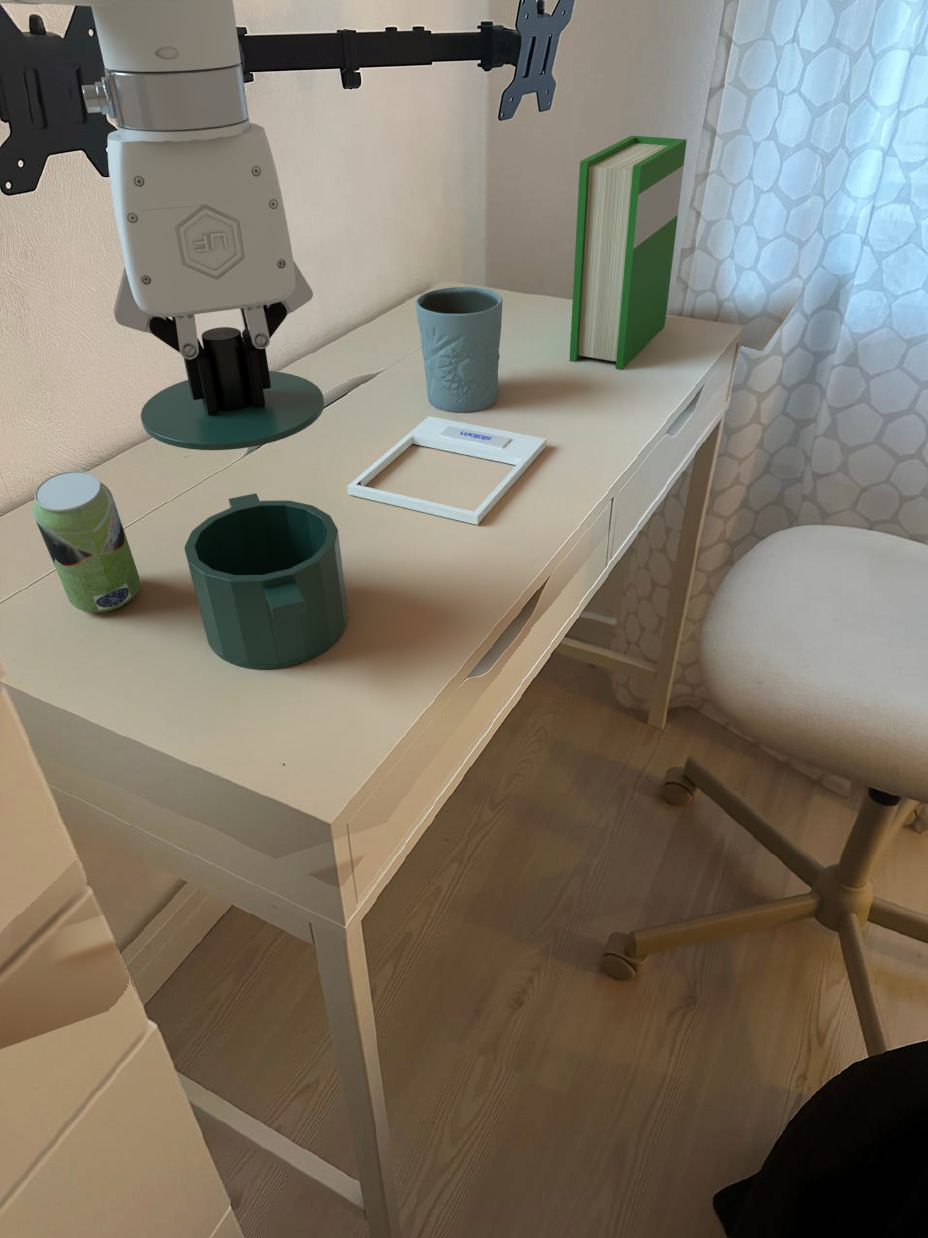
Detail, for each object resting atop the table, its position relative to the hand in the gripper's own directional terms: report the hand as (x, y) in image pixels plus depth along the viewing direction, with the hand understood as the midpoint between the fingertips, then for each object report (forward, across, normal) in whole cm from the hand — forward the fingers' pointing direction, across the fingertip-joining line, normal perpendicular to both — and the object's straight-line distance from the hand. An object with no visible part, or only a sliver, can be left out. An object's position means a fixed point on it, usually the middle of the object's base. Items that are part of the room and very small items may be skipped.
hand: (233, 400), depth 63 cm
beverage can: (+20, -13, +9) cm, 25 cm away
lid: (+1, 0, 0) cm, 1 cm away
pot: (+20, 0, 0) cm, 20 cm away
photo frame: (+19, +23, +19) cm, 36 cm away
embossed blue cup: (+19, +31, +36) cm, 51 cm away
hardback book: (+19, +58, +44) cm, 75 cm away
